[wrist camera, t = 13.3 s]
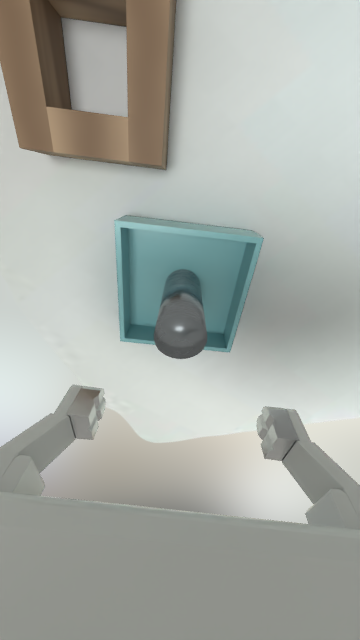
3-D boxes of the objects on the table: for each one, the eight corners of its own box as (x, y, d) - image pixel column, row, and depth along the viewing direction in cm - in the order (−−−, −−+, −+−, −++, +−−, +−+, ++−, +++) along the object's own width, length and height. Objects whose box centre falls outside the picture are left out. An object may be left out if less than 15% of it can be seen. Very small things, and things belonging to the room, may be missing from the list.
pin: (202, 271, 24) (211, 318, 15) (197, 303, 26) (202, 361, 17) (166, 267, 23) (154, 312, 15) (164, 299, 26) (152, 356, 17)
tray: (251, 230, 22) (263, 238, 19) (224, 333, 29) (229, 352, 26) (125, 215, 22) (114, 220, 18) (128, 322, 29) (120, 341, 25)
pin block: (177, -26, 14) (174, -93, 11) (166, 169, 20) (161, 165, 16) (14, -51, 14) (-43, -129, 10) (49, 154, 19) (19, 147, 16)
